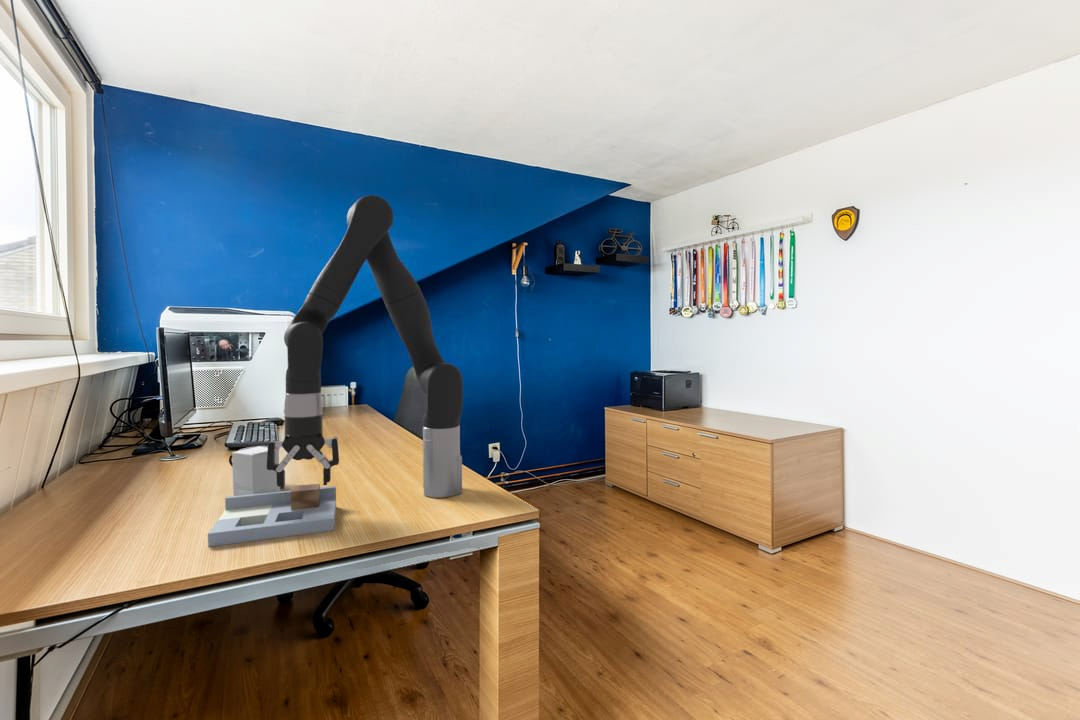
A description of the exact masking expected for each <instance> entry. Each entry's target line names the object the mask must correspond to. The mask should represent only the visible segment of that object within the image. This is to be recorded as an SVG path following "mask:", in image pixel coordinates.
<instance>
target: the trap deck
mask: <svg viewBox="0 0 1080 720" xmlns="http://www.w3.org/2000/svg"><path fill="white" fill-rule="evenodd" d="M291 490H292V489H290V490H280V492H270V493H260V494H250V495H240V496H233V495H231V496H226V497H225V498H224V504H225V505H224V506H225V510H224V511H223V513H221V515H220V517H219V518H218V520H217V521H216V522H215V523H214V524H213V526H212V528H211V529H210V531H208V533H207V547H215V546H216V547H217V546H222V545H230V544H238V543H239V544H240V543H247V542H256V541H261V540H262V541H264V540H270V539H277V538H278V539H280V538H286V537H294V536H302V535H310V534H317V533H324V532H332V531H335V524H336V522H335V521H336V515H337V514H336V512H337V486H336V485H332V486H320V505H319V507H317V508H308V509H299V510H291Z"/></svg>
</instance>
